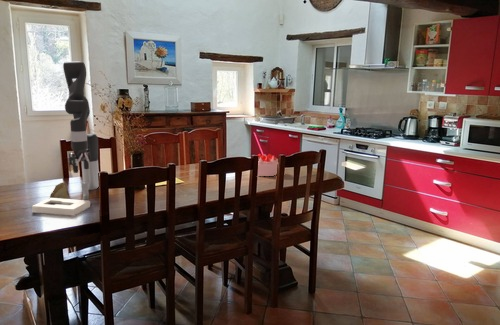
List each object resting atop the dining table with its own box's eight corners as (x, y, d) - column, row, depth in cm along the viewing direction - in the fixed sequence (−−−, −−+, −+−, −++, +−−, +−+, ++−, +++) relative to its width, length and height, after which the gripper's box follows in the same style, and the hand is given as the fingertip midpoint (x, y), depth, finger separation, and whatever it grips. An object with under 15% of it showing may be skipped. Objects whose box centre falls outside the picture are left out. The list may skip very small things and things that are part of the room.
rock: (46, 200, 199) (67, 196, 203) (45, 185, 202) (65, 181, 206) (51, 206, 209) (71, 202, 212) (49, 192, 212) (69, 188, 215)
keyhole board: (51, 204, 200) (50, 197, 199) (90, 207, 197) (89, 200, 196) (32, 213, 186) (31, 206, 186) (73, 216, 183) (73, 209, 182)
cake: (275, 178, 267) (276, 158, 264) (247, 176, 271) (248, 156, 268) (279, 172, 285) (280, 153, 282) (254, 170, 290) (254, 151, 287)
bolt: (84, 203, 203) (83, 181, 200) (92, 203, 202) (91, 182, 200) (79, 206, 198) (77, 183, 196) (87, 206, 198) (86, 184, 195)
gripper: (81, 137, 200) (83, 167, 203) (63, 141, 186) (65, 173, 190) (94, 138, 198) (96, 168, 202) (76, 142, 185) (78, 174, 188)
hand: (81, 170), depth 196 cm, fingers open, 8 cm apart
